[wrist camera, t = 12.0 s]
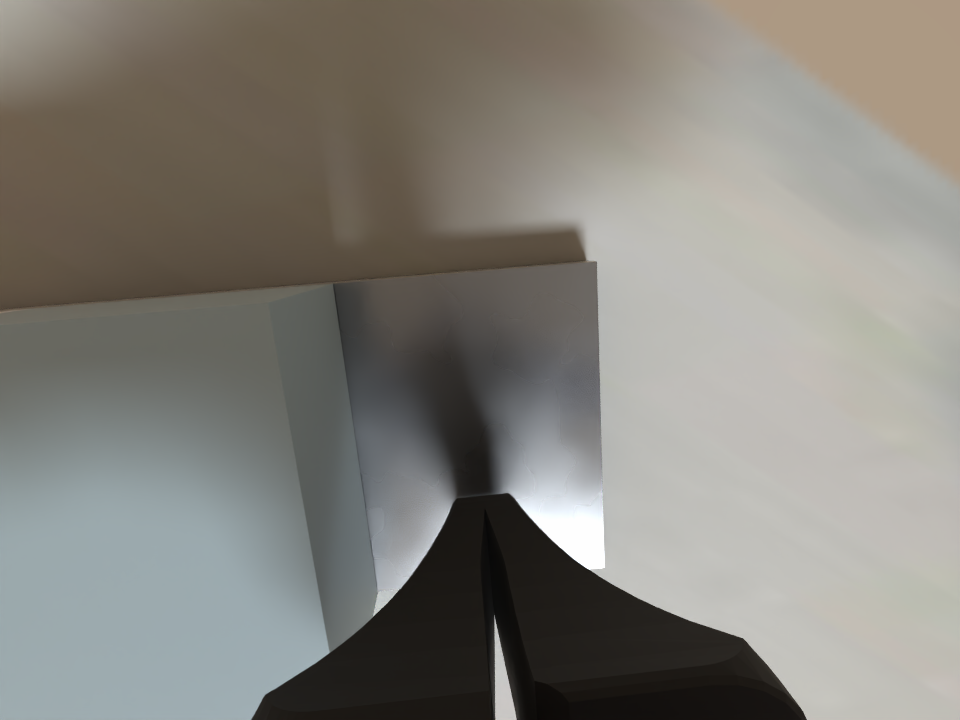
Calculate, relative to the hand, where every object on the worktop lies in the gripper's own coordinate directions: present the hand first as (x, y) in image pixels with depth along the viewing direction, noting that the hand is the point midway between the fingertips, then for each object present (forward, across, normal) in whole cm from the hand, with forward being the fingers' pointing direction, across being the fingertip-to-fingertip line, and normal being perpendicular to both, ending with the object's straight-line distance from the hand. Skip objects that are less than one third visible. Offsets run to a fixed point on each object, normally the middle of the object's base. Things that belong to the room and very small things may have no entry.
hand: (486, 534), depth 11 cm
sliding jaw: (+2, +6, -2) cm, 7 cm away
